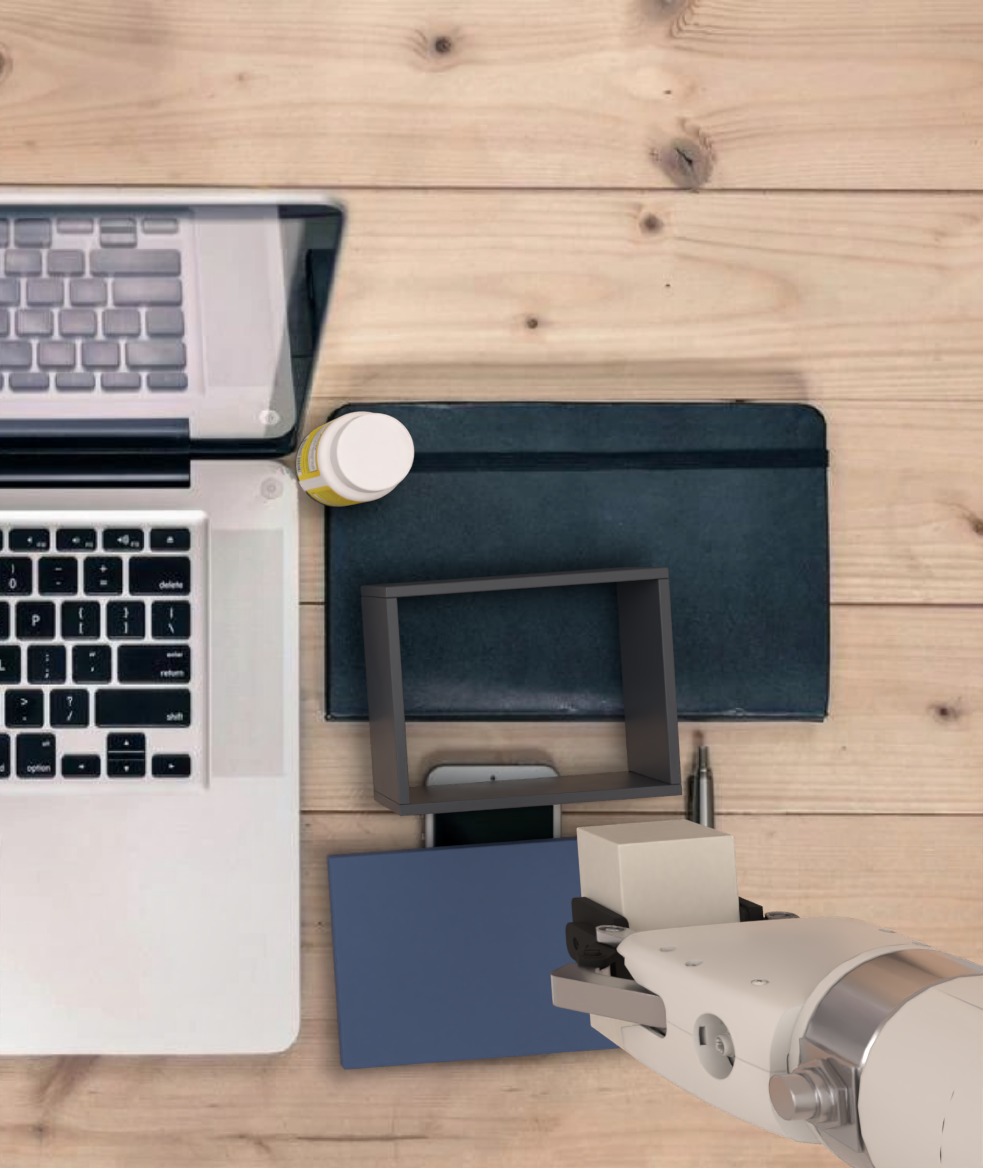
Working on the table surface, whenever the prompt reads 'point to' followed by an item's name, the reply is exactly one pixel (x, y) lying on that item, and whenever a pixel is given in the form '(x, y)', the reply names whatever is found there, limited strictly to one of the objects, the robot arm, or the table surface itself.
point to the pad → (454, 952)
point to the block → (658, 880)
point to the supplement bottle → (354, 459)
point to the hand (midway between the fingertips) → (645, 926)
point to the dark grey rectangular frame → (646, 777)
